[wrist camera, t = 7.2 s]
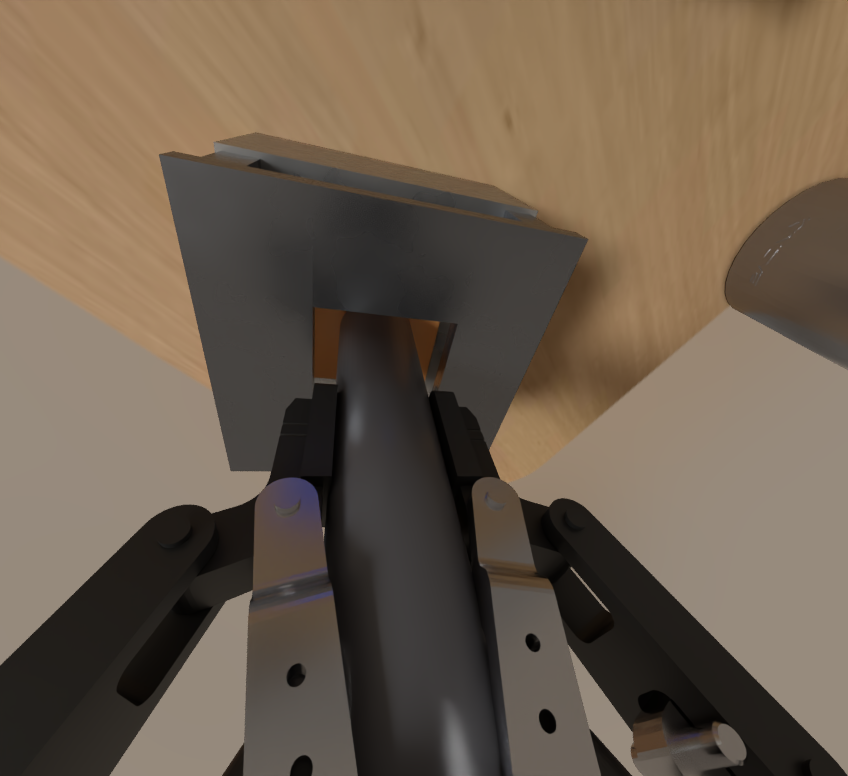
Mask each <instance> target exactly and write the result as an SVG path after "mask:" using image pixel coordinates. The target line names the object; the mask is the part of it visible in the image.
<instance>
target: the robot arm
mask: <svg viewBox="0 0 848 776" xmlns="http://www.w3.org/2000/svg"><path fill="white" fill-rule="evenodd" d="M725 294H726V298H727V301H728V303H729V304H730V305H731V307H732V308H734V309H736V310H738V311H739V312H741V313H743V314H745V315H747V316H749V317H750V318H752V319H754V320H756V321H758V322H760V323H761V324H763V325H765V326H767V327H769V328H771V329H773V330H774V331H776V332H778V333H780V334H782V335H783V336H785V337H787V338H789V339H791V340H793V341H795V342H796V343H798V344H800V345H802V346H804V347H806V348H808V349H809V350H811V351H813V352H815V353H817V354H819V355H821V356H823V357H824V358H826V359H828V360H830V361H832V362H834V363H836V364H838V365H839V366H841V367H843V368H845V369H847V370H848V178H837V179H833V180H829V181H826V182H822V183H820V184H818V185H816V186H813V187H811V188H809V189H807V190H805V191H803V192H802V193H800V194H799V195H797V196H795V197H794V198H792V199H791V200H789V201H788V202H786V203H785V204H784V205H783V206H781V207H780V208H779V209H778V210H776V211H775V212H774V213H772V214H771V215H770V216H769V217H768V218H767V219H766V220H765V221H764V222H763V223H762V224H761V225H760V226H759V227H758V228H757V229H756V230H755V232H754V233H753V234H752V235H751V236H750V238H749V239H748V240H747V241H746V242H745V244H744V245H743V247H742V249H741V250H740V252H739V253H738V255H737V256H736V258H735V260H734V262H733V264H732V266H731V268H730V270H729V274H728V277H727V281H726V290H725ZM337 388H338V384H325V383H314V388H313V395H312V399H305V398H295V399H294V401H293V402H292V403H291V404H290V405H289V406H288V407H287V408H286V411H285V415H284V419H283V425H282V428H281V432H280V436H279V441H278V445H277V449H276V454H275V458H274V462H273V466H272V471H271V475H270V479H269V481H268V484H267V485H266V487H265V488H264V489H263V490H262V491H261V493H260V494H258V495H257V496H256V497H255V498H253V499H252V500H250V501H248V502H246V503H244V504H242V505H239V506H236V507H233V508H229V509H226V510H222V511H219V512H215V513H212V514H211V513H210V512H209V511H208V510H207V509H205V508H203V507H201V506H197V505H181V506H176V507H173V508H170V509H167V510H165V511H163V512H161V513H159V514H158V515H156V516H154V517H153V518H151V519H150V520H149V521H148V522H147V523H146V524H145V525H144V526H143V527H142V528H141V529H140V530H138V532H137V533H135V534H134V535H133V536H132V537H131V538H130V539H129V540H128V541H127V542H126V543H125V544H124V545H123V546H122V547H121V548H120V549H119V550H118V551H117V552H116V553H115V554H114V555H113V556H112V557H111V558H110V559H109V560H108V561H107V562H106V563H105V564H104V565H103V566H102V567H101V568H100V569H99V570H98V571H97V572H96V573H94V574H93V576H91V577H90V578H89V579H88V580H87V581H86V582H85V583H84V584H83V585H82V586H81V587H80V588H79V589H78V590H77V591H76V592H75V593H74V594H73V595H72V596H71V597H70V598H69V599H68V600H67V601H66V602H65V603H64V604H63V605H62V606H61V607H60V608H59V609H58V610H57V611H56V612H55V613H54V614H53V615H52V616H51V617H50V618H48V620H46V621H45V622H44V623H43V624H42V625H41V626H40V627H39V628H38V629H37V630H36V631H35V632H34V633H33V634H32V635H31V636H30V637H29V638H28V639H27V640H26V641H25V642H24V643H23V644H22V645H21V646H20V647H19V648H18V649H17V650H16V651H15V652H14V653H13V654H12V655H11V656H10V657H9V658H8V659H7V660H6V661H4V663H3V664H2V665H0V776H109V775H110V774H111V772H112V771H113V769H114V768H115V766H116V765H117V763H118V762H119V760H120V759H121V757H122V756H123V754H124V753H125V751H126V750H127V748H128V747H129V746H130V744H131V742H132V741H133V739H134V738H135V737H136V735H137V734H138V732H139V731H140V729H141V727H142V726H143V724H144V723H145V722H146V720H147V719H148V717H149V716H150V714H151V713H152V711H153V710H154V708H155V706H156V705H157V704H158V702H159V701H160V699H161V698H162V696H163V695H164V693H165V692H166V690H167V688H168V687H169V686H170V684H171V683H172V681H173V680H174V678H175V677H176V675H177V674H178V672H179V671H180V669H181V668H182V666H183V665H184V663H185V661H186V660H187V659H188V657H189V655H190V654H191V653H192V651H193V649H194V648H195V647H196V645H197V644H198V642H199V641H200V639H201V638H202V636H203V635H204V633H205V632H206V630H207V629H208V627H209V626H210V624H211V623H212V621H213V620H214V618H215V617H216V615H217V614H218V612H219V611H220V609H221V608H222V606H223V605H224V603H225V602H226V601H227V600H229V599H232V598H234V597H237V596H239V595H242V594H244V593H247V592H249V591H251V590H253V593H252V594H253V595H252V599H251V601H250V605H249V616H248V642H247V675H246V706H245V737H244V744H243V745H242V747H241V748H240V750H239V751H238V753H237V754H236V756H235V757H234V759H233V760H232V762H231V763H230V765H229V766H228V768H227V769H226V771H225V772H224V773H223V775H222V776H358V774H357V767H356V759H355V752H354V744H353V737H352V730H351V722H350V715H349V707H348V700H347V692H346V685H345V677H344V670H343V662H342V655H341V647H340V640H339V632H338V625H337V617H336V610H335V603H334V595H333V589H332V584H331V580H330V579H329V576H328V570H327V562H326V555H325V547H324V539H323V532H322V527H325V521H326V507H327V499H328V496H329V494H330V492H331V479H332V464H333V449H334V434H335V419H336V404H337ZM429 401H430V405H431V409H432V413H433V417H434V421H435V425H436V429H437V433H438V437H439V441H440V445H441V449H442V453H443V457H444V461H445V465H446V469H447V473H448V477H449V481H450V485H451V489H452V493H453V497H454V501H455V506H456V510H457V514H458V518H459V522H460V526H461V530H462V534H463V538H464V542H465V546H466V550H467V554H468V558H469V562H470V566H471V570H472V576H473V581H474V586H475V592H476V597H477V603H478V609H479V615H480V621H481V627H482V629H483V632H484V635H485V640H486V646H487V655H488V666H489V676H490V687H491V696H492V704H493V711H494V718H495V725H496V732H497V740H498V748H499V756H500V763H501V771H502V776H632V775H631V774H630V773H629V772H628V771H627V770H626V768H625V767H624V766H623V765H622V764H621V763H620V762H619V761H618V760H617V758H616V757H615V756H614V755H613V754H612V753H611V752H610V751H609V750H608V749H607V748H606V747H605V745H604V744H603V743H602V742H601V741H600V740H599V739H598V737H597V736H596V735H595V734H594V733H593V732H592V731H591V730H590V729H589V726H588V722H587V718H586V714H585V711H584V706H583V702H582V699H581V695H580V691H579V687H578V683H577V679H576V675H575V671H574V667H573V663H572V659H571V655H570V651H569V647H568V645H569V646H570V647H571V649H572V650H573V652H574V653H575V654H576V655H577V657H578V658H579V660H580V661H581V662H582V664H583V665H584V666H585V668H586V669H587V671H588V672H589V673H590V675H591V676H592V677H593V679H594V680H595V682H596V683H597V684H598V686H599V687H600V688H601V689H602V691H603V692H604V694H605V695H606V697H607V698H608V699H609V701H610V702H611V703H612V705H613V706H614V707H615V709H616V710H617V712H618V713H619V714H620V716H621V717H622V718H623V720H624V721H625V723H626V724H627V725H628V727H629V728H630V729H631V731H632V732H633V741H634V742H633V744H632V746H631V756H632V759H633V762H634V764H635V766H636V767H637V769H638V770H639V772H640V773H642V775H643V776H847V774H846V773H845V772H844V770H843V769H842V768H841V767H840V766H839V764H838V763H837V762H836V761H835V760H834V759H833V758H832V757H831V756H830V754H828V753H827V751H826V750H825V749H824V748H823V747H822V746H821V745H820V744H818V742H817V741H816V740H815V739H814V738H813V737H812V736H811V735H810V734H809V733H808V732H807V731H806V730H805V729H804V728H803V727H802V726H801V725H800V724H799V723H798V722H797V721H796V720H795V719H794V718H793V717H792V716H791V715H790V714H789V713H788V712H787V711H786V710H785V709H784V708H783V707H782V706H781V705H780V704H779V703H778V702H777V701H776V700H775V699H774V698H773V697H772V696H771V695H770V694H769V693H768V692H767V691H766V690H765V689H764V688H763V687H762V686H761V685H760V684H759V683H758V682H757V681H756V680H755V679H754V678H753V677H752V676H751V675H750V674H749V673H748V672H747V671H746V670H745V668H744V667H743V666H742V665H741V664H740V663H738V662H737V660H736V659H735V658H734V657H733V656H732V655H731V654H730V653H729V652H728V651H727V650H726V649H725V648H724V647H723V646H722V645H721V644H720V643H719V642H718V641H717V640H716V639H715V638H714V637H713V636H712V635H711V634H710V633H709V632H708V631H707V630H706V629H705V628H704V627H703V626H702V625H701V624H700V623H699V622H698V621H697V620H696V619H695V618H694V617H693V616H692V615H691V614H690V613H689V612H688V611H687V610H686V609H685V608H684V607H683V606H682V605H681V604H680V603H679V602H678V601H677V600H676V599H675V598H674V597H673V596H672V595H671V594H670V593H669V592H668V591H667V590H666V589H665V588H664V587H663V586H662V585H661V584H660V583H659V582H658V581H657V580H656V579H655V577H654V576H652V574H651V573H650V572H649V571H648V570H647V569H646V568H645V567H644V566H643V565H641V563H640V562H639V561H638V560H637V559H636V558H635V557H634V556H633V555H632V554H631V553H630V552H629V551H628V550H627V549H626V548H625V547H624V546H623V545H622V544H621V543H620V542H619V541H618V540H617V539H616V538H615V537H614V536H613V535H612V534H611V533H610V532H609V531H608V530H607V529H606V528H605V527H604V526H603V525H602V524H601V523H600V522H599V521H598V520H597V519H596V518H595V517H594V516H593V515H592V514H591V513H590V512H589V511H588V510H587V509H586V508H585V507H584V506H582V505H581V504H579V503H577V502H575V501H573V500H570V499H564V498H561V499H557V500H555V501H553V502H552V504H551V505H550V506H549V507H547V506H543V505H540V504H537V503H533V502H530V501H527V500H524V499H521V498H519V497H518V495H517V493H516V491H515V490H514V489H513V488H512V487H511V486H510V485H509V484H507V483H506V482H504V481H502V480H500V478H499V475H498V473H497V470H496V467H495V465H494V462H493V460H492V457H491V454H490V452H489V449H488V447H487V444H486V442H485V441H484V436H483V434H482V432H481V429H480V426H479V423H478V421H477V418H476V417H475V416H474V415H473V414H472V412H471V411H470V410H469V409H468V408H467V407H459V405H458V403H457V400H456V397H455V394H454V392H449V391H433V390H432V391H431V392H430V395H429ZM571 567H572V568H573V569H574V570H575V571H576V572H577V573H578V575H579V576H580V577H581V578H582V579H583V581H584V582H585V583H586V584H587V585H588V586H589V588H590V589H591V590H592V591H593V592H594V593H595V594H596V596H597V597H598V598H599V599H600V601H602V603H603V604H604V605H605V606H606V608H607V609H608V610H609V612H608V611H606V610H605V609H604V608H603V607H602V606H601V604H600V603H599V602H598V601H597V600H596V598H595V597H594V596H593V595H592V594H591V592H590V591H589V590H588V589H587V588H586V587H585V585H584V584H583V583H582V582H581V581H580V579H579V578H578V577H577V576H576V575H575V573H574V572H573V571H572V570H571V569H570V568H571Z"/></svg>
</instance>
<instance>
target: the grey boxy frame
mask: <svg viewBox="0 0 848 776" xmlns="http://www.w3.org/2000/svg"><path fill="white" fill-rule="evenodd" d="M214 148H215V153H212V154H209V155H206V156H202V157H199V156H194V155H189V154H184V153H179V152H174V151H172V152H168V153H163V154H159V157H160V161H161V166H162V170H163V174H164V179H165V183H166V188H167V192H168V197H169V201H170V205H171V210H172V214H173V219H174V223H175V227H176V232H177V236H178V241H179V245H180V249H181V254H182V258H183V263H184V267H185V271H186V276H187V280H188V285H189V289H190V294H191V298H192V302H193V307H194V311H195V316H196V320H197V324H198V329H199V333H200V338H201V342H202V346H203V351H204V355H205V360H206V364H207V368H208V373H209V377H210V382H211V386H212V391H213V395H214V399H215V404H216V408H217V413H218V417H219V421H220V426H221V430H222V434H223V439H224V443H225V448H226V452H227V457H228V461H229V465H230V470H231V471H272V466H273V462H274V458H275V454H276V449H277V445H278V441H279V436H280V432H281V428H282V425H283V419H284V415H285V411H286V408H287V407H288V406H289V405H290V404H291V403H292V402H293V401H294V399H295V398H305V399H312V395H313V388H314V383H325V384H336V379H328V378H314V367H315V307H316V308H325V309H333V310H342V311H351V312H359V313H368V314H377V315H385V316H394V317H403V318H412V319H420V320H429V321H438V322H440V323H439V327H438V331H437V335H436V339H435V343H434V347H433V351H432V355H431V359H430V363H429V367H428V371H427V375H426V378H425V385H426V389H427V393H428V397H429V395H430V392H431V391H432V390H433V391H449V392H454V394H455V397H456V400H457V403H458V405H459V407H467V408H468V409H469V410H470V411H471V412H472V414H473V415H474V416H475V417H476V418H477V421H478V423H479V426H480V429H481V432H482V434H483V436H484V441H485V442H486V444H487V447H488V449H490V447H491V445H492V442H493V440H494V438H495V436H496V434H497V432H498V430H499V428H500V425H501V423H502V421H503V419H504V417H505V415H506V413H507V411H508V408H509V406H510V404H511V402H512V400H513V398H514V396H515V394H516V392H517V389H518V387H519V385H520V383H521V381H522V379H523V377H524V375H525V372H526V370H527V368H528V366H529V364H530V362H531V360H532V358H533V355H534V353H535V351H536V349H537V347H538V345H539V343H540V341H541V339H542V336H543V334H544V332H545V330H546V328H547V326H548V324H549V322H550V319H551V317H552V315H553V313H554V311H555V309H556V307H557V305H558V302H559V300H560V298H561V296H562V294H563V292H564V290H565V288H566V285H567V283H568V281H569V279H570V277H571V275H572V273H573V271H574V269H575V266H576V264H577V262H578V260H579V258H580V256H581V254H582V252H583V249H584V247H585V245H586V243H587V241H588V239H587V238H585V237H583V236H581V235H580V234H578V233H576V232H571V231H566V230H561V229H556V228H552V227H550V226H549V225H547V224H545V223H544V222H542V221H540V220H539V219H537V218H536V215H537V213H538V211H537V210H536V209H534V208H532V207H530V206H528V205H527V204H525V203H523V202H521V201H520V200H518V199H516V198H514V197H513V196H511V195H509V194H507V193H505V192H504V191H502V190H500V189H498V188H497V187H495V186H492V185H488V184H483V183H479V182H474V181H470V180H465V179H461V178H457V177H452V176H448V175H443V174H439V173H434V172H430V171H425V170H421V169H416V168H412V167H408V166H403V165H399V164H394V163H390V162H385V161H381V160H376V159H372V158H367V157H363V156H359V155H354V154H350V153H345V152H341V151H336V150H332V149H327V148H323V147H318V146H314V145H310V144H305V143H301V142H296V141H292V140H287V139H283V138H278V137H274V136H269V135H265V134H261V133H256V132H255V133H251V134H247V135H242V136H238V137H234V138H229V139H225V140H220V141H216V142H214Z"/></svg>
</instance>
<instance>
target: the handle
mask: <svg viewBox="0 0 848 776" xmlns="http://www.w3.org/2000/svg"><path fill="white" fill-rule="evenodd" d="M336 384H338V388H337V404H336V419H335V434H334V449H333V464H332V479H331V492H330V494H329V496H328V499H327V507H326V521H325V534H324V547H325V555H326V562H327V570H328V576H329V579H330V580H331V584H332V589H333V595H334V603H335V610H336V617H337V625H338V632H339V640H340V647H341V655H342V662H343V670H344V677H345V685H346V692H347V700H348V707H349V715H350V722H351V730H352V737H353V744H354V752H355V759H356V767H357V774H358V776H502V771H501V763H500V756H499V748H498V740H497V732H496V725H495V718H494V711H493V704H492V696H491V687H490V676H489V666H488V655H487V646H486V640H485V635H484V632H483V629H482V627H481V621H480V615H479V609H478V603H477V597H476V592H475V586H474V581H473V576H472V570H471V566H470V562H469V558H468V554H467V550H466V546H465V542H464V538H463V534H462V530H461V526H460V522H459V518H458V514H457V510H456V506H455V501H454V497H453V493H452V489H451V485H450V481H449V477H448V473H447V469H446V465H445V461H444V457H443V453H442V449H441V445H440V441H439V437H438V433H437V429H436V425H435V421H434V417H433V413H432V409H431V405H430V401H429V397H428V393H427V389H426V385H425V381H424V377H423V373H422V369H421V365H420V361H419V357H418V353H417V349H416V345H415V341H414V337H413V333H412V329H411V325H410V321H409V318H403V317H394V316H385V315H377V314H368V313H359V312H351V311H347V312H346V313H345V314H344V316H343V318H342V320H341V324H340V334H339V347H338V361H337V374H336Z"/></svg>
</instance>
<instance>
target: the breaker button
mask: <svg viewBox="0 0 848 776" xmlns="http://www.w3.org/2000/svg"><path fill="white" fill-rule="evenodd" d="M346 312H347V311H342V310H333V309H325V308H316V307H315V367H314V378H328V379H336V374H337V361H338V347H339V334H340V324H341V320H342V318H343V316H344V314H345V313H346ZM409 321H410V325H411V329H412V333H413V337H414V341H415V345H416V349H417V353H418V357H419V361H420V365H421V369H422V373H423V377H424V381H425V378H426V375H427V371H428V367H429V363H430V359H431V355H432V351H433V347H434V343H435V339H436V335H437V331H438V327H439V323H440V322H438V321H429V320H420V319H412V318H409Z"/></svg>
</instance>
